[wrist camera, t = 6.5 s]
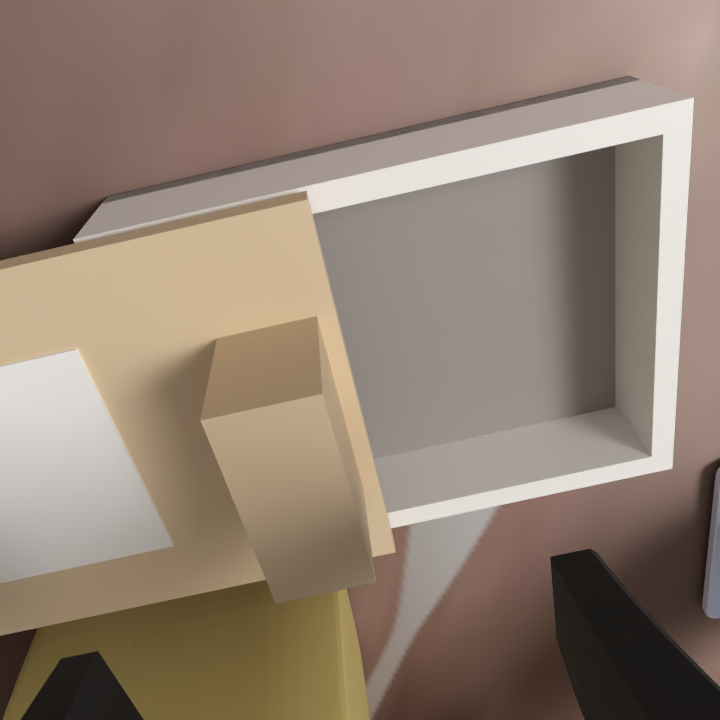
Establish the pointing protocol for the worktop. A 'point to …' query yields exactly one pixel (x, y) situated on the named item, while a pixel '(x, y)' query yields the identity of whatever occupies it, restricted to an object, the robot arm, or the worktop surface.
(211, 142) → the worktop surface
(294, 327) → the lid
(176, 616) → the cheese
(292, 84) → the worktop surface
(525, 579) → the worktop surface
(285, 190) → the box
